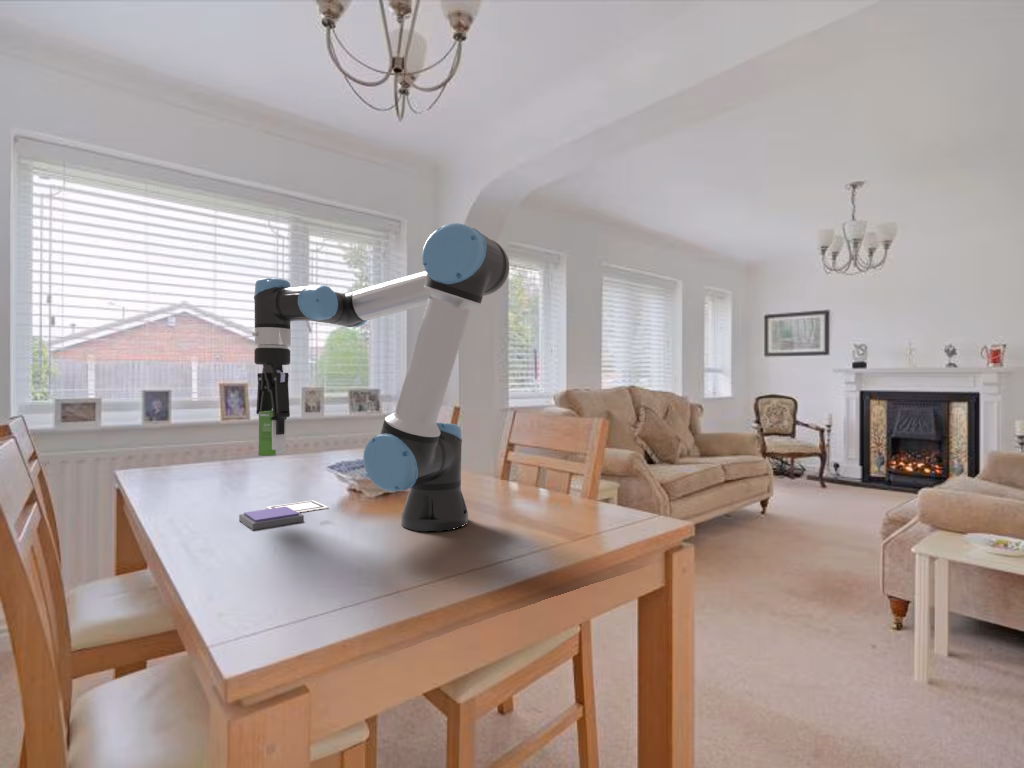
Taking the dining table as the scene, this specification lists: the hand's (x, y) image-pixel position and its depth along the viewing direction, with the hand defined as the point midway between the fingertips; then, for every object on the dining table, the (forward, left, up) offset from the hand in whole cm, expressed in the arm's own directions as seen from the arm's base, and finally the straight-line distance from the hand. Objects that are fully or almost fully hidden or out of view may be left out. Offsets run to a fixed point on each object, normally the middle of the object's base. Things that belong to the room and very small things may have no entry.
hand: (272, 447), depth 124 cm
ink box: (0, 0, -2) cm, 2 cm away
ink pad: (0, 0, -17) cm, 17 cm away
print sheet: (+9, -9, -17) cm, 21 cm away
